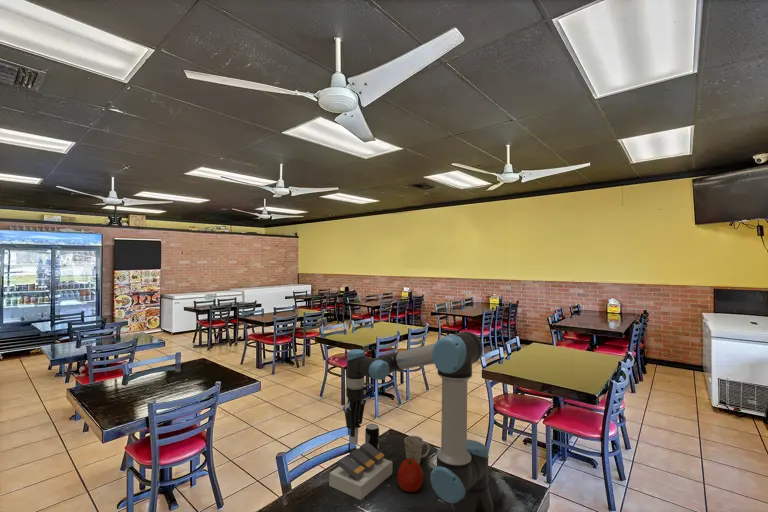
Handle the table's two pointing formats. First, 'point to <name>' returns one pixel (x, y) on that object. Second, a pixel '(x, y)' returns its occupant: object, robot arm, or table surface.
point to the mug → (415, 448)
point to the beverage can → (372, 435)
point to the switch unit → (360, 479)
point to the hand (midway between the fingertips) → (354, 443)
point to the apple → (410, 475)
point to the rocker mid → (362, 459)
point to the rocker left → (351, 467)
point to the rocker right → (372, 452)
